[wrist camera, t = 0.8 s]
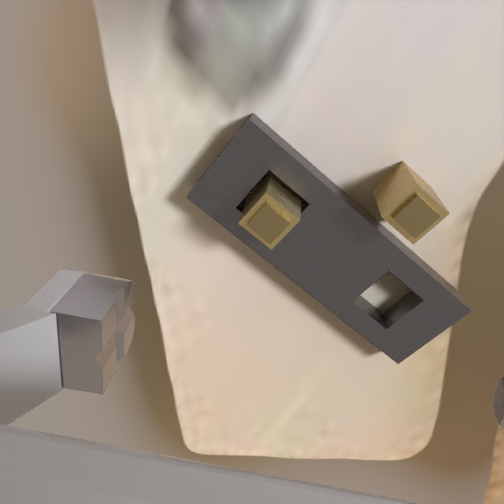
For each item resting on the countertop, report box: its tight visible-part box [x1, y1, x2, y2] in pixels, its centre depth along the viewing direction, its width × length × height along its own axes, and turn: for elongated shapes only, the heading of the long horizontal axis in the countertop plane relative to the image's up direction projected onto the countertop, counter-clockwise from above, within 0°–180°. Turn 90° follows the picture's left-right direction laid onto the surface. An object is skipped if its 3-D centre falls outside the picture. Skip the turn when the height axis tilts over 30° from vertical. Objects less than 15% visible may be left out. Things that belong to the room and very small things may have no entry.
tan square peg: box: [238, 171, 302, 250], centre depth 44 cm, size 4×4×8 cm
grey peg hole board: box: [187, 113, 471, 364], centre depth 48 cm, size 10×30×3 cm, turn 51°
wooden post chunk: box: [373, 161, 450, 244], centre depth 43 cm, size 4×4×8 cm
